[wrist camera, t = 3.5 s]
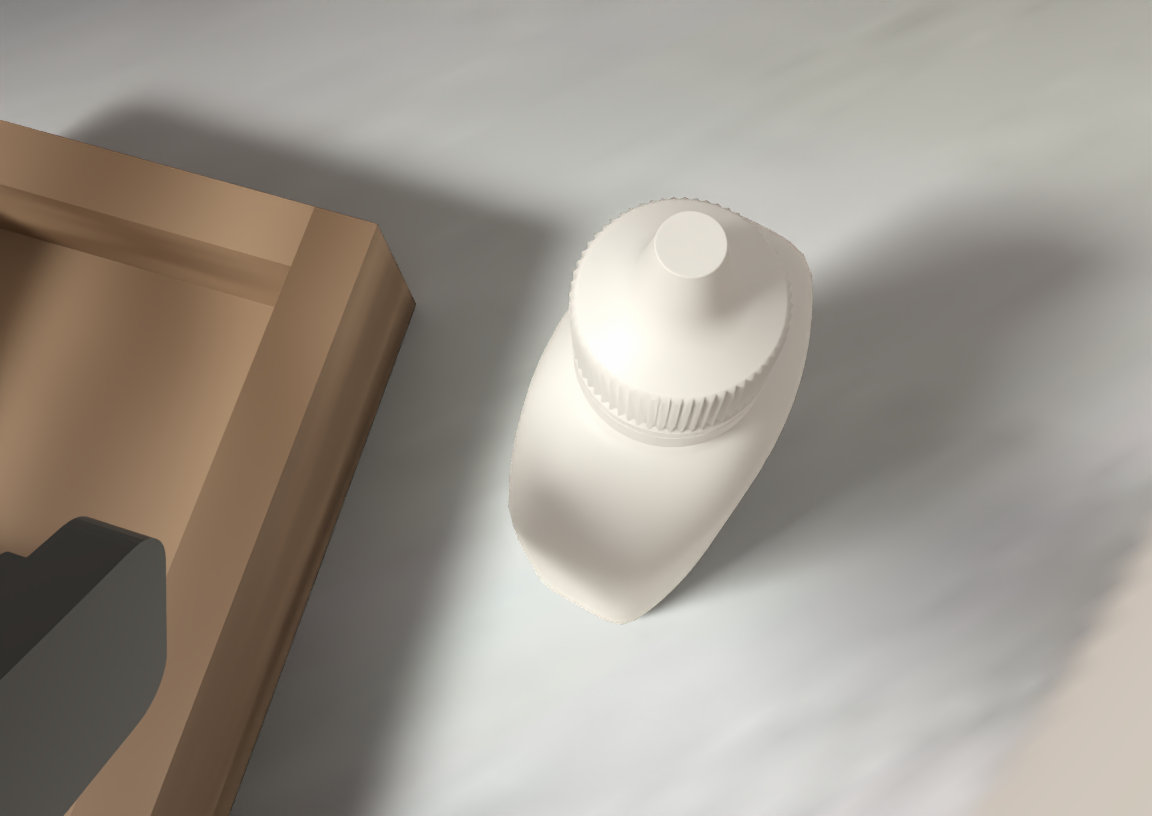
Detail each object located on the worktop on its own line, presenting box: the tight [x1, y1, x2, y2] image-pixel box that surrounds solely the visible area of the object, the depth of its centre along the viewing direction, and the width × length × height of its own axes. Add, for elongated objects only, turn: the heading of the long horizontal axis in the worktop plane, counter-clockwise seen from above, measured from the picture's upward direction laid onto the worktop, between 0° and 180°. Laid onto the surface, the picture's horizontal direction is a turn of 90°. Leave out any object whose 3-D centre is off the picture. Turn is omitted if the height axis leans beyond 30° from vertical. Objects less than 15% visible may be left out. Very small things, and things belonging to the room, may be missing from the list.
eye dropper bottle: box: [508, 197, 813, 624], centre depth 16 cm, size 4×6×12 cm
